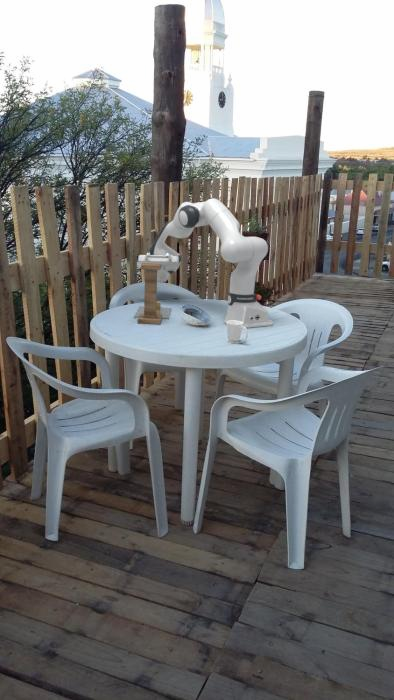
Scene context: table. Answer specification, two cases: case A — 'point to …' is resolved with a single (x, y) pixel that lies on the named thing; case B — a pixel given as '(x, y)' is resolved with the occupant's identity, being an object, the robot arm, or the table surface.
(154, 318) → the walnut stand
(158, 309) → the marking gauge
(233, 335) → the cup
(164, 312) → the rubber mat
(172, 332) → the table surface
